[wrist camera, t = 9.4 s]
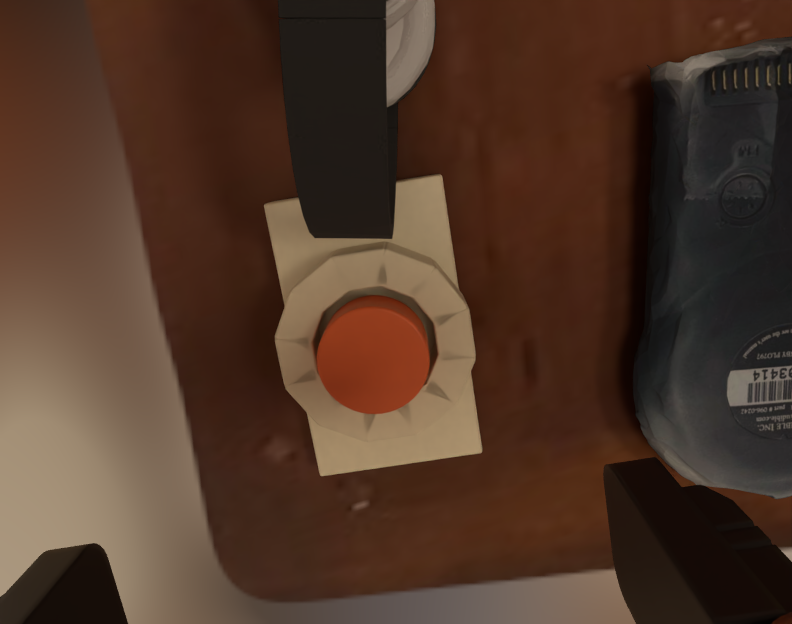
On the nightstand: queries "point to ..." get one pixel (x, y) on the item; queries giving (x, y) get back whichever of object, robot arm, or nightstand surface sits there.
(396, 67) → the headphones
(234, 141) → the nightstand surface
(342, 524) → the nightstand surface
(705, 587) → the robot arm
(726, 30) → the nightstand surface
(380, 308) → the button
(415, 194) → the control block
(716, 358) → the electronic device
